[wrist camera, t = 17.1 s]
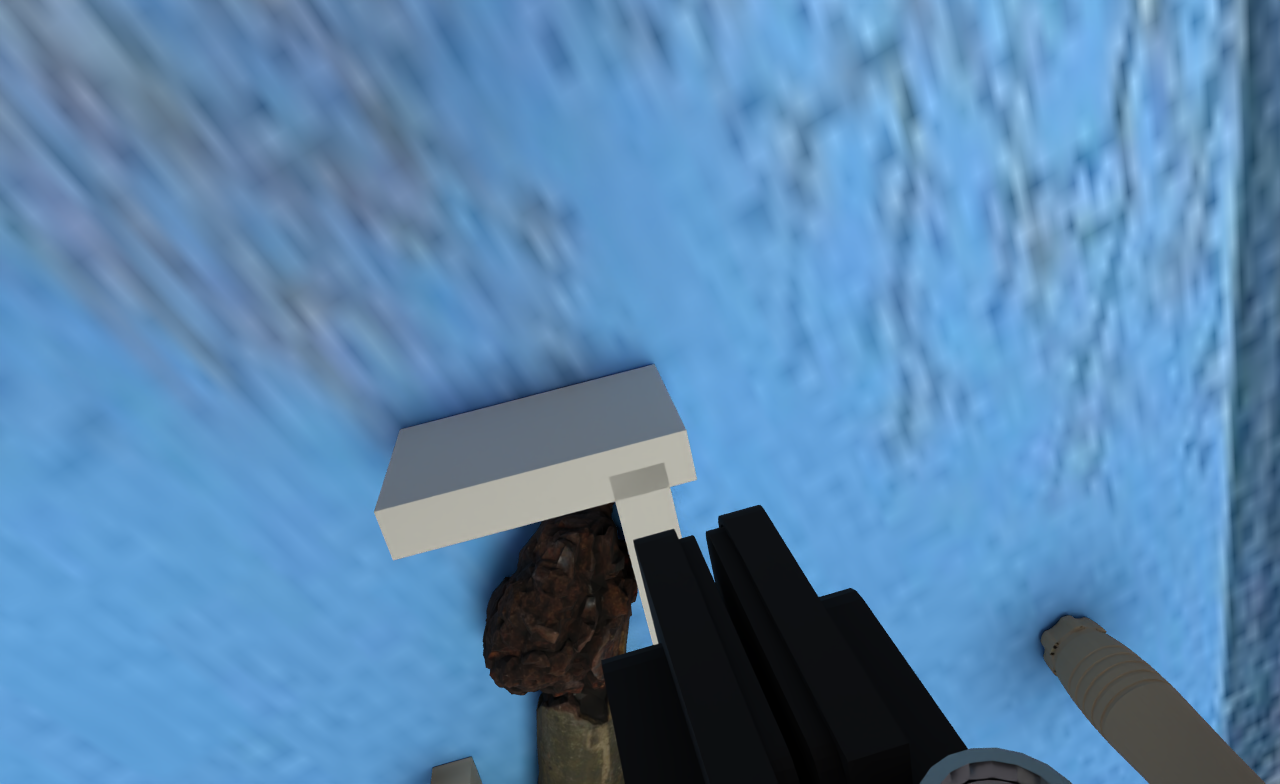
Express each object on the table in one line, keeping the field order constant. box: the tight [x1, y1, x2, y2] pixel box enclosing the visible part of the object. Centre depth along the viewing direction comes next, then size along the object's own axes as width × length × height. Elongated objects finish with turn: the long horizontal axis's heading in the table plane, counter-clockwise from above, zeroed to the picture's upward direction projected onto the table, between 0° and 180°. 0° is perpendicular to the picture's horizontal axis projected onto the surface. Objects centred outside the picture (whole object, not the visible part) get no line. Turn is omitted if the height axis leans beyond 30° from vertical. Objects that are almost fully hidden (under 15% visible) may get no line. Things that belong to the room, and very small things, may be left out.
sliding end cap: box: [374, 364, 697, 645], centre depth 33 cm, size 11×9×7 cm
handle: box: [1041, 615, 1265, 784], centre depth 37 cm, size 5×6×15 cm
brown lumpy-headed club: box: [483, 502, 638, 784], centre depth 38 cm, size 18×7×6 cm, turn 179°
